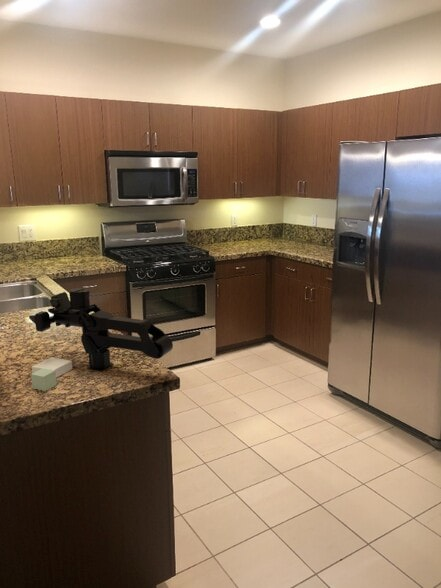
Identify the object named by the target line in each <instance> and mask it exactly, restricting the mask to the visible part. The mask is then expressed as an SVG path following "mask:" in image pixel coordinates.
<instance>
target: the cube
mask: <svg viewBox="0 0 441 588" xmlns="http://www.w3.org/2000/svg"><path fill="white" fill-rule="evenodd" d="M30 377H31V386H32V387H31V388H32V390H35V389H38V390H37V391H40V390H42V391H41V392H47V391H49V390H50V388H51V389H53V388H54V387H56V386H57V385H58V383H57V378H56V374H55V370H49V369H44V368H42V369H40V370H38V371H36V372H34V373H32V372H31V374H30ZM48 389H49V390H48ZM46 390H47V391H46Z"/></svg>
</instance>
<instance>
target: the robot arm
mask: <svg viewBox="0 0 441 588" xmlns="http://www.w3.org/2000/svg"><path fill="white" fill-rule="evenodd" d="M68 292H69V296H68V293H67V292H66V291H63V292H60V293H57V294H54V295H51V297H50V299H49V303H50V306H51V308H50V307H49V308H48V309H47V311H39V312H36V313H35V314H32V315H31V314H30V315H28V319H29V320H30V321H32V323H33V324H34V325H35V331H36V332H40V333H42V332H45V331H47V330H49V329H50V328H51V327H52V326H51V324H55V327H60V326H62V325H63V326H64V327H65V328H69V327H74V328H75V327H77V328H81V330H82V331H81V332H82V334H81V336H80V340H81V344H82V346H83V349H84V352H85V354H87V355H88V363H89V365H88V366H87V368H86V369H88V370H92V371H98V372H104V371H105V370H107V369H108V368H111V367H112V366H113V365H114V363H113V362H111V356H110V355H111V353H110V348H117V349H123V350H130V351H134V352H135V351H136V352H142V353H143V354H144V355H145V356H146V357H149V358H152V359H154V360H155V359H156V360H157V359H158V360H159V359H161V358H162V357H164V356H166V355H167V354H168V353H170V352H171V351H172V350H173V347H174V346H173V344H174V343H173V341H172V339H171V338H170V336H169V335H167V334H166V333H165V332H164V331H163V330H162V329H160V328H159V327H157V326H155V325H154V324H153V322H151V320H150V319H139V318H130V317H122V316H115V315H113V314H111V313H110V312H107V311H105V310H102V309H101V308H100V307H99V306H98V305H97V304H96V303H93V304H91V301H90V291H89V290H87V289H86V288H84V287H75V288H72V289H69V290H68ZM50 314H52V315H50ZM109 330H112V331H118V332H125V333H126V332H127V333H132V334H133V333H134V334H137V335H138V336H135V335H129V334H122V333H113V332H111V331H109Z"/></svg>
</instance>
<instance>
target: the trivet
mask: <svg viewBox="0 0 441 588" xmlns="http://www.w3.org/2000/svg"><path fill="white" fill-rule="evenodd" d="M42 368H44V369H49V370H55V374H56V379H57V378H59V377H61V376H63V375H64V374H66V373H68V372H70V371H72V370H73V361H72V360H68V359H63V358H57V357H53V356H51V357H48V358H46V359H44V360H42V361H40V362H38V363H36V364H34V365H32V366H31V374H32V373H34V372H36V371H38V370H40V369H42Z"/></svg>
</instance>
